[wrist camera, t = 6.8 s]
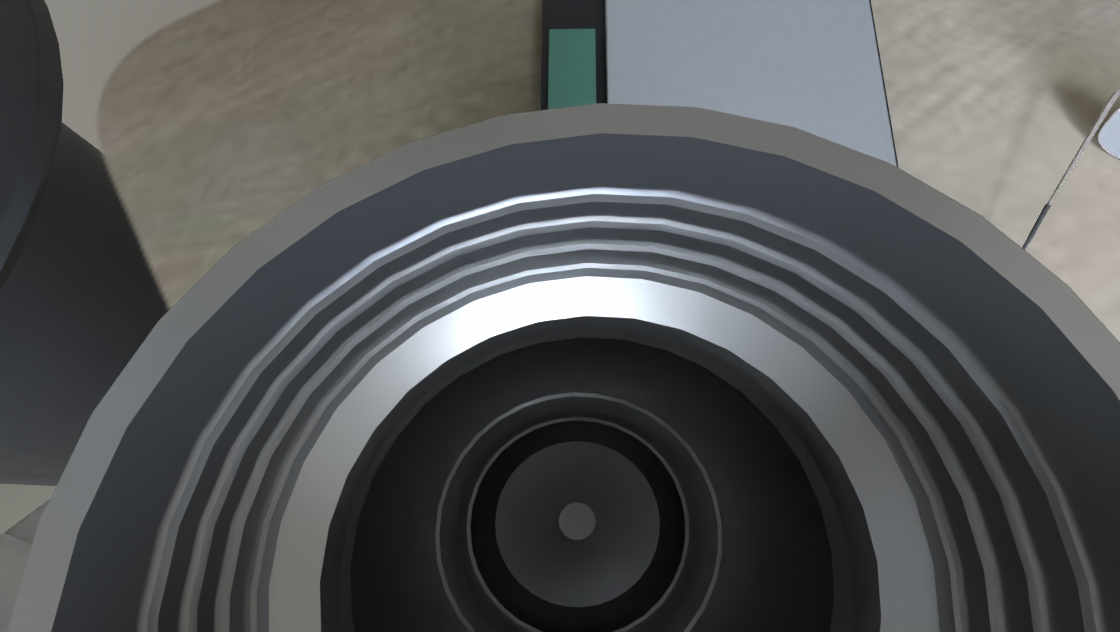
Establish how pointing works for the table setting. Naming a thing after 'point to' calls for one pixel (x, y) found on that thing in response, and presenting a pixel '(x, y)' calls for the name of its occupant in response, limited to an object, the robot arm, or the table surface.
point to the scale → (725, 62)
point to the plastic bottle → (603, 405)
